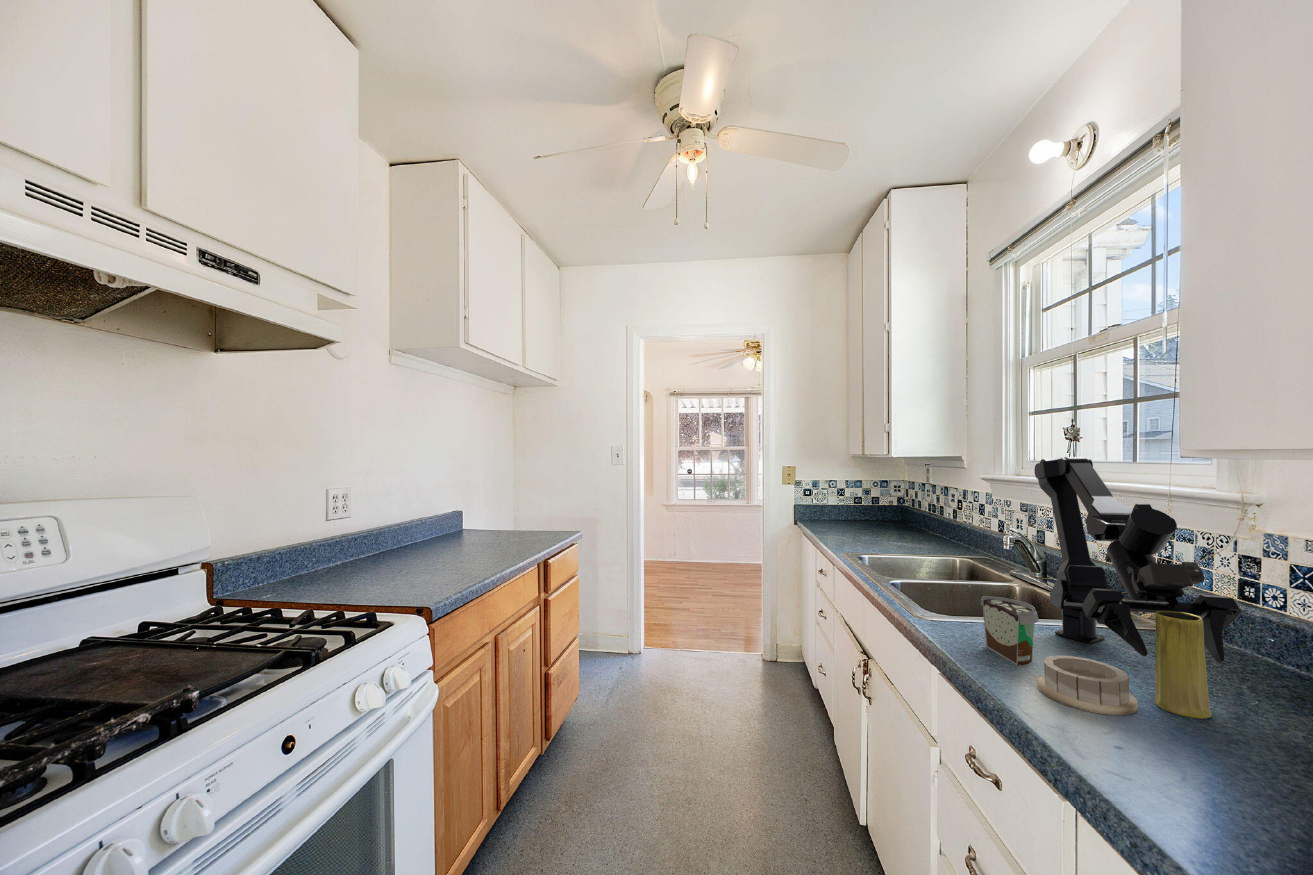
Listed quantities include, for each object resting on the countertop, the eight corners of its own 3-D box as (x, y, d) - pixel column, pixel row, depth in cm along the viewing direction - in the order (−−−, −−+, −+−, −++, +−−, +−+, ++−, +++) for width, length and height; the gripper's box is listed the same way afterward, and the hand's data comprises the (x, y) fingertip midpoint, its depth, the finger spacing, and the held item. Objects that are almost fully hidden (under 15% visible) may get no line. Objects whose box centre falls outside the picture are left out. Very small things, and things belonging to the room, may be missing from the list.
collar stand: (1062, 674, 92) (1061, 648, 92) (1153, 704, 81) (1152, 674, 81) (1021, 688, 87) (1020, 661, 87) (1112, 722, 76) (1111, 691, 76)
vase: (1202, 705, 81) (1198, 612, 81) (1219, 723, 75) (1214, 623, 76) (1149, 696, 84) (1146, 607, 84) (1162, 713, 78) (1158, 617, 79)
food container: (1056, 668, 95) (1054, 613, 95) (1022, 668, 95) (1020, 613, 95) (1012, 644, 107) (1010, 595, 108) (981, 644, 107) (980, 595, 108)
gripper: (1087, 540, 88) (1126, 626, 77) (1230, 545, 82) (1294, 639, 71) (1068, 577, 95) (1101, 660, 84) (1198, 584, 89) (1252, 674, 78)
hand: (1182, 658), depth 79 cm, fingers open, 9 cm apart
